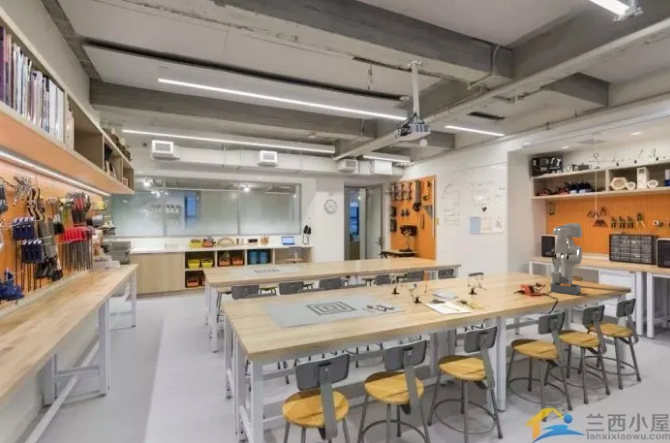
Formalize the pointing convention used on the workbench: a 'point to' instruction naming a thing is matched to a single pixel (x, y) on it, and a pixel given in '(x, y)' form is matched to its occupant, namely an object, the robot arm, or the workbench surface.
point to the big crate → (566, 288)
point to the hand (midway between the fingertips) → (561, 259)
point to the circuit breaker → (557, 278)
